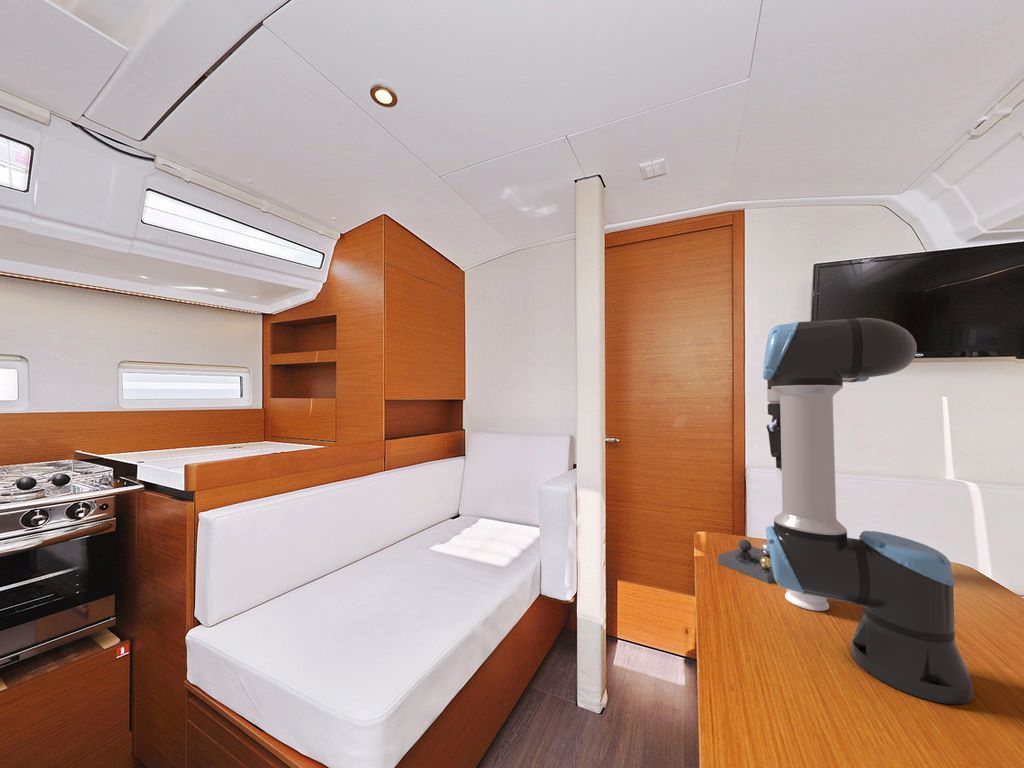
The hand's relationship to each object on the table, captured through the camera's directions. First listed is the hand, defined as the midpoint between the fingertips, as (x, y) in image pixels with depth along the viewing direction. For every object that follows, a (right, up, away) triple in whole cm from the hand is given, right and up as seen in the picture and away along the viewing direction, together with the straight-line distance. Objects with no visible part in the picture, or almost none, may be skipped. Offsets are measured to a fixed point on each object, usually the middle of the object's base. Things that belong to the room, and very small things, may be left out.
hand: (783, 478), depth 120 cm
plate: (-13, -24, -7) cm, 28 cm away
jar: (-13, -24, -27) cm, 38 cm away
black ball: (-13, -20, -2) cm, 24 cm away
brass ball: (-15, -20, -14) cm, 28 cm away
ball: (-8, -20, -5) cm, 22 cm away
